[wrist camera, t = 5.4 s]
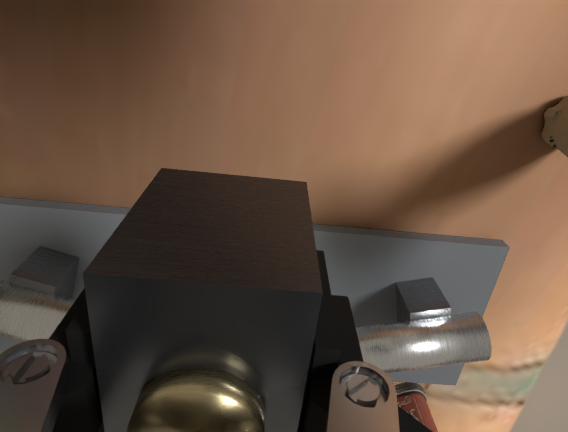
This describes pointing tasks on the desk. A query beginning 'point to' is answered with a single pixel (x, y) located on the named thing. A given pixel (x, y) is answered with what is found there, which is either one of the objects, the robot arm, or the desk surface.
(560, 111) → the handle
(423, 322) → the shaft
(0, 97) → the desk surface
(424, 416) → the lighter
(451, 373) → the base plate
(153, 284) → the block
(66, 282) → the shaft
